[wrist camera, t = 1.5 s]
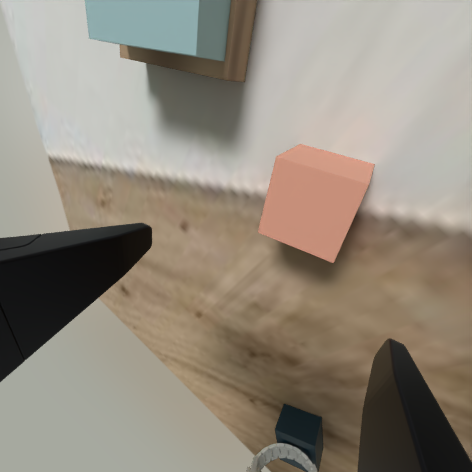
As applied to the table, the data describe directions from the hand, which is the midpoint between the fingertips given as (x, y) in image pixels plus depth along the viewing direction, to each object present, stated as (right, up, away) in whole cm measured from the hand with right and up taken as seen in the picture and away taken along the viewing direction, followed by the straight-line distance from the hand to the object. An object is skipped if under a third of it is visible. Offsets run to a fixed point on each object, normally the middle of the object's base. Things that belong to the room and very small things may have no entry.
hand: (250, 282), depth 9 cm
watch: (+8, -21, +23) cm, 32 cm away
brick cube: (+6, +5, +10) cm, 13 cm away
